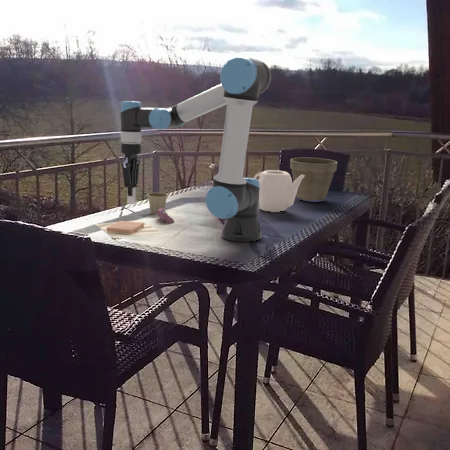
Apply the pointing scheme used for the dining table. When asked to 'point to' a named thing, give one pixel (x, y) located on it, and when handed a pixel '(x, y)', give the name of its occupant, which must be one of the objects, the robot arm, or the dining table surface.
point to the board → (142, 231)
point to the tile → (125, 227)
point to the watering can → (277, 190)
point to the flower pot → (157, 201)
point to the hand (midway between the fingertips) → (131, 203)
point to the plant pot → (313, 176)
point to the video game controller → (164, 216)
